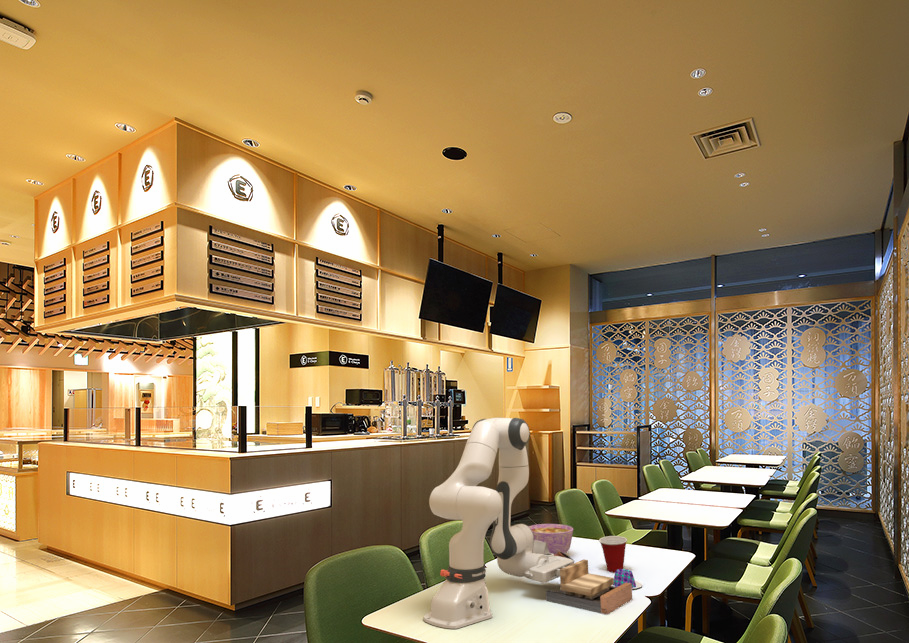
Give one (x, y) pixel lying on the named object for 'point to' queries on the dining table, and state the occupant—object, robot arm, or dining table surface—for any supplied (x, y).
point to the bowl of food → (553, 536)
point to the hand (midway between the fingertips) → (572, 573)
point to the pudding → (625, 578)
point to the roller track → (598, 604)
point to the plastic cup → (613, 551)
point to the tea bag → (540, 547)
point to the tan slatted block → (583, 581)
